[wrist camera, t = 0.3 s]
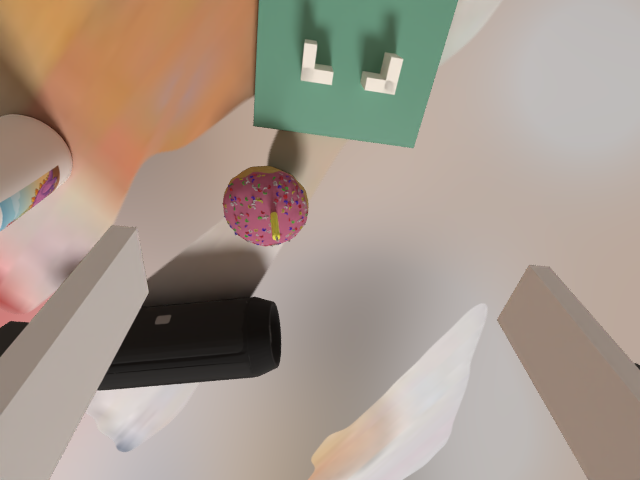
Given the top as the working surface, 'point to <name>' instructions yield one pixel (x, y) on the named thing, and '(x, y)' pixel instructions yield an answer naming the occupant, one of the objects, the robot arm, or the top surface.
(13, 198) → the milk bottle
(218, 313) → the portable speaker
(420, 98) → the board
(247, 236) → the cupcake
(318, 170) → the top surface
